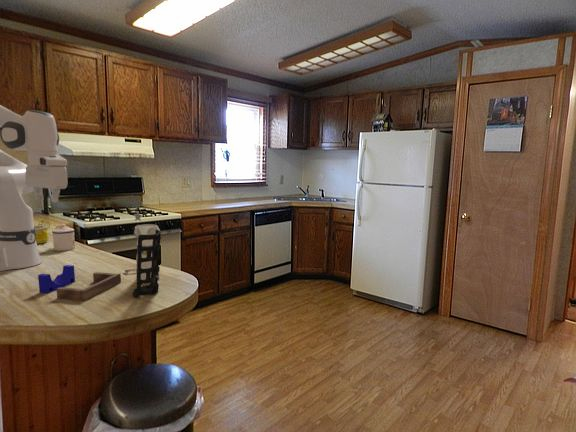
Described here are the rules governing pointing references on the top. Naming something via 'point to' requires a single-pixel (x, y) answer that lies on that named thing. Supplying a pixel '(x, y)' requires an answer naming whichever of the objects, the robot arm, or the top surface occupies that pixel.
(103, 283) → the bracket
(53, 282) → the cable clip
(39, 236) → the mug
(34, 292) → the top surface
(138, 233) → the water bottle
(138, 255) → the holder
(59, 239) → the teacup with lid
